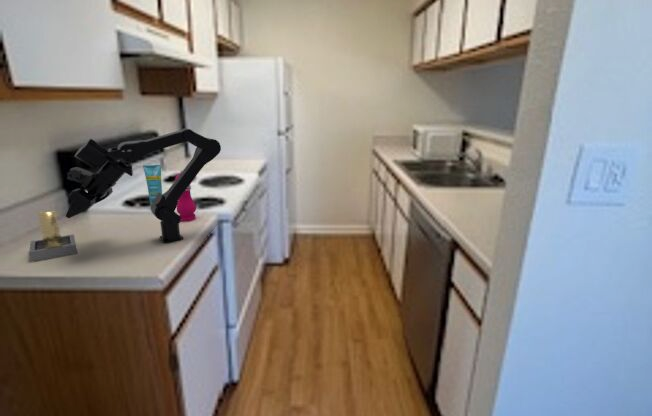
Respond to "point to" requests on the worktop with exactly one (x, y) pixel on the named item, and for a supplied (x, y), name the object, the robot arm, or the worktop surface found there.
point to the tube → (153, 180)
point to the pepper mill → (186, 205)
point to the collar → (52, 249)
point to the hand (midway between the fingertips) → (74, 213)
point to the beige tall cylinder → (50, 228)
